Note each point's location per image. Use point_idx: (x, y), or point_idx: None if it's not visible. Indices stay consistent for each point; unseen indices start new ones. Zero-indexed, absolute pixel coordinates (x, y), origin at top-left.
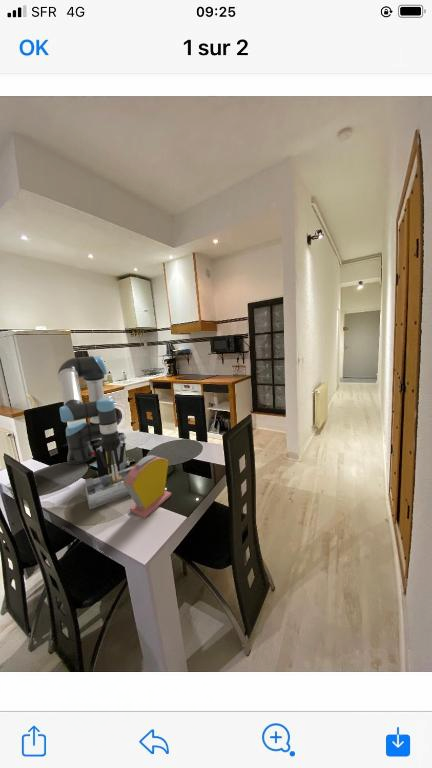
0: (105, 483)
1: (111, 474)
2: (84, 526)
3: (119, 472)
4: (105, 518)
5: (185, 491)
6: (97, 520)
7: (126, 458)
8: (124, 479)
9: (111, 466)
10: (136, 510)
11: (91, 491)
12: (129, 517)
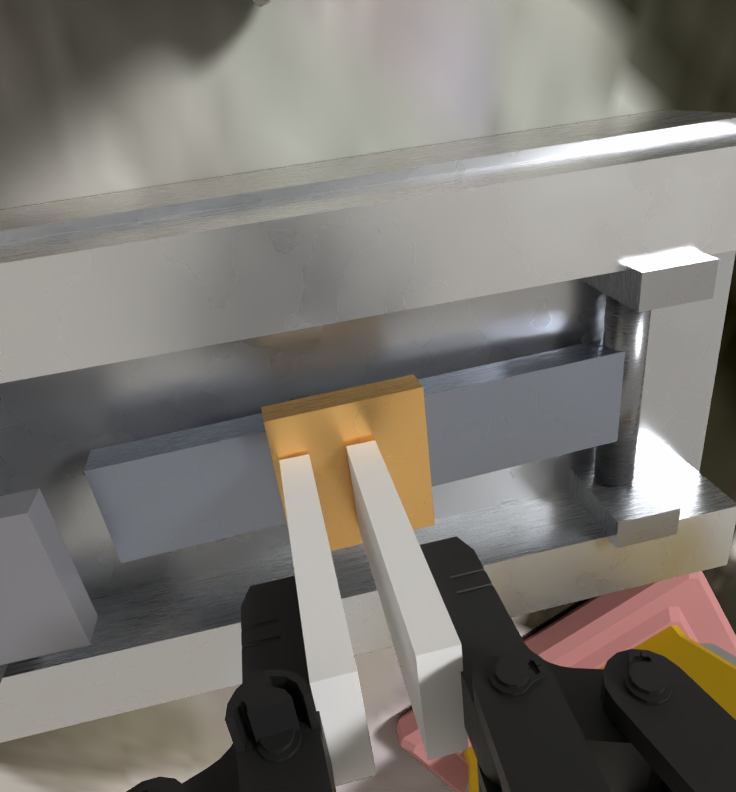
0: (160, 528)
1: (258, 281)
2: (26, 774)
3: (424, 276)
4: (197, 735)
5: None
6: (130, 741)
7: None
8: (457, 471)
9: (332, 738)
10: (446, 779)
11: None
12: (380, 761)
